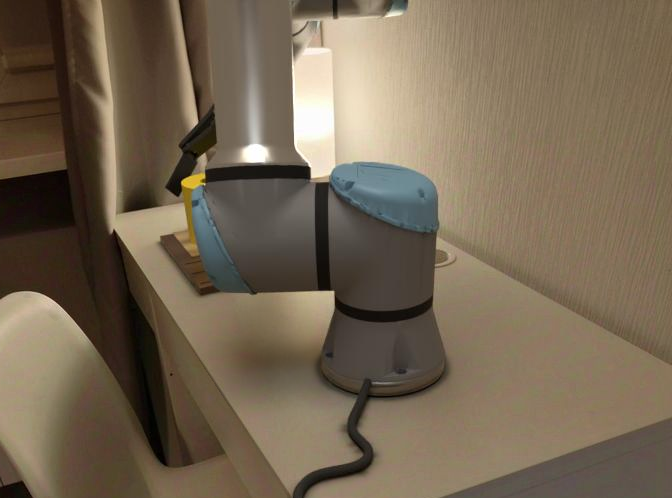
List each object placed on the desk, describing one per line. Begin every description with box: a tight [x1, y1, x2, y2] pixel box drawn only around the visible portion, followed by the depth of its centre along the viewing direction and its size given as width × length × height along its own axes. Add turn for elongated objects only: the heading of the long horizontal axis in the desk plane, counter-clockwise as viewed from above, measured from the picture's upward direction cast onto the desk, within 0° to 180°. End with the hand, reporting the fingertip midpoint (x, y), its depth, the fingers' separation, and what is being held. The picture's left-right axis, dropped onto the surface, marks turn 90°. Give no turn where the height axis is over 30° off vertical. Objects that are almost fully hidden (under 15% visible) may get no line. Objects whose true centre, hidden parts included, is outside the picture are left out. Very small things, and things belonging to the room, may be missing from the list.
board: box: [159, 229, 221, 296], centre depth 122 cm, size 26×17×1 cm, turn 23°
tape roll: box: [181, 172, 206, 245], centre depth 124 cm, size 10×10×9 cm
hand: (192, 201), depth 119 cm, fingers open, 13 cm apart
